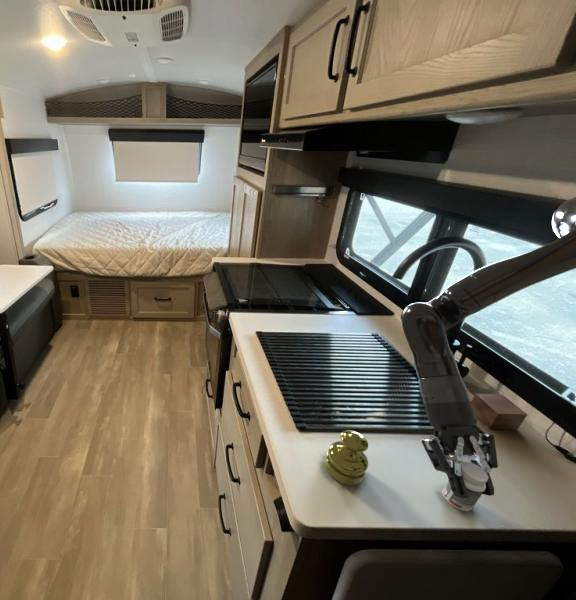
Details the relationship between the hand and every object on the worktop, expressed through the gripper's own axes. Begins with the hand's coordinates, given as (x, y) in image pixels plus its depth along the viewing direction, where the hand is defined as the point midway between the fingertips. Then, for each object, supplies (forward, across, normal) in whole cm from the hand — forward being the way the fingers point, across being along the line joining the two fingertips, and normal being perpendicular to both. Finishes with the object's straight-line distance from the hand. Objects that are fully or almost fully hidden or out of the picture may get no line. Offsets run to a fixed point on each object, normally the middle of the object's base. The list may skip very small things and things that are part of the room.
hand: (474, 495), depth 61 cm
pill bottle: (+2, 0, +4) cm, 5 cm away
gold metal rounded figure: (-4, -19, +10) cm, 22 cm away
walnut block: (-11, +28, +17) cm, 35 cm away
